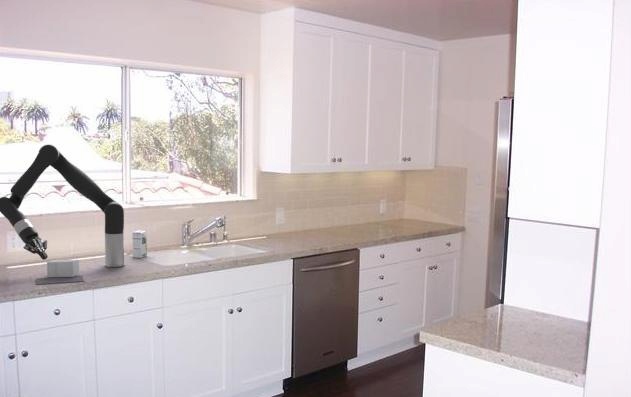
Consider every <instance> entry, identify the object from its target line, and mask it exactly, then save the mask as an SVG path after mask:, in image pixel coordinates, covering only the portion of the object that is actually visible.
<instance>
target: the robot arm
mask: <svg viewBox="0 0 631 397" xmlns="http://www.w3.org/2000/svg"><path fill="white" fill-rule="evenodd" d="M49 167H52V168H53V169H54V170H56V171H57V172H58V173H59V175H61V176H62V177H63V179H64V181H66V182H67V183H68V184H69V185H70V187H72V188H73V189H74V190H76V191H77V192H78V193H79V194H80V195H81V196H83V197H84V198H86V199H88V200H89V201H91V202H92V203H94V204H95V205H96V206H97V208H99V209H100V210H101V211H102V212H103V213H104V260H105V261H104V266H105V267H108V268H119V267H124V266H125V247H124V246H125V245H124V242H125V241H124V237H125V236H124V231H125V230H124V228H125V213H124V212H125V210H124V208H123V206H122V205H121V203H119V202H117V201H116V200H115V199H114V198H112V197H111V196H109V195H107V194H106V193H105V192H104V191H103V189H102V188H101V187H100V186H99V185H98V184H97V183H96V182H95V181H94V180H93V179H92V178H91V177H90V176H89V175H88V174H86V172H84V171H83V170H81V168H79V167H77V166H76V165H74V163H71V162H70V161H69V160H68V159H67V158H66V157H65V155H63V153H61V151H60V150H59V149H58V148H57V146H55V145H53V144H45V145H43V146H41V147H40V148H39V151H38V153H37V154H36V157H35V159H34V160H33V162H32V163H31V164H30V166H29V167H28V168H27V169H26V170H25V171H24V173H23V174H22V175H21V176H20V177H19V178H18V179H17V181H16V182H15V183H14V184H13V186H12V187H11V188H10V193H11V195H10V197H6V196H1V197H0V213H1V214H2V215H3V217H4V218H5V219H7V221H8V222H9V223H10V225H11V226H12V227H13V229H14V230H15V232H16V234H17V236H18V237H19V238H20V239H21V241H22V242H23V243H24V244H25V245H24V246H23V249H24V250H26V251H28V252H30V253H31V254H35V255H36V254H37V255H38V256H39V258H40V259H42V260H43V261H44V260H45V261H46V260H47V258H49V256H48V254H47V252H46V250H47V248H48V240H46V239H45V240H43V239H42V238H41V237H40V236H39V232H37V230H36V229H35V227H34V225H33V224H32V223H31V222H30V221H29V220H28V219H27V217H26V216H25V214H24V213H23V212H22V211H20V210H19V208H20V206H21V205H22V202H23V200H24V198H25V196H26V195H27V194H28V193H29V192H30V190H31V189H32V187H34V185H35V184H36V183H37V180H38V179H39V178H40V176H42V174H43V173H44V172H45V170H46V169H48V168H49Z"/></svg>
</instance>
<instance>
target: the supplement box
mask: <svg viewBox="0 0 631 397" xmlns="http://www.w3.org/2000/svg"><path fill="white" fill-rule="evenodd" d="M78 275H80V260H79V259H53V260H50V261H47V262H46V277H74V276H78Z"/></svg>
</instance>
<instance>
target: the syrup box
mask: <svg viewBox="0 0 631 397" xmlns="http://www.w3.org/2000/svg"><path fill="white" fill-rule="evenodd" d="M131 233H132V235H131V236H132V238H131V239H132V241H131V242H132V257H133V258H135V259H136V258H138V259H140V258H141V259H142V258H144V257H147V255H148V254H147V253H148V251H147V247H148V246H147V231H146V230H136V231H132V232H131Z"/></svg>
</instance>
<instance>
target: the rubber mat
mask: <svg viewBox="0 0 631 397" xmlns="http://www.w3.org/2000/svg"><path fill="white" fill-rule="evenodd" d="M70 283H84V275H80V274H79V275H76V276H74V277H47V276H46V277H37V278H36V281H35V286H41V285H53V284H56V285H57V284H70Z"/></svg>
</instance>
